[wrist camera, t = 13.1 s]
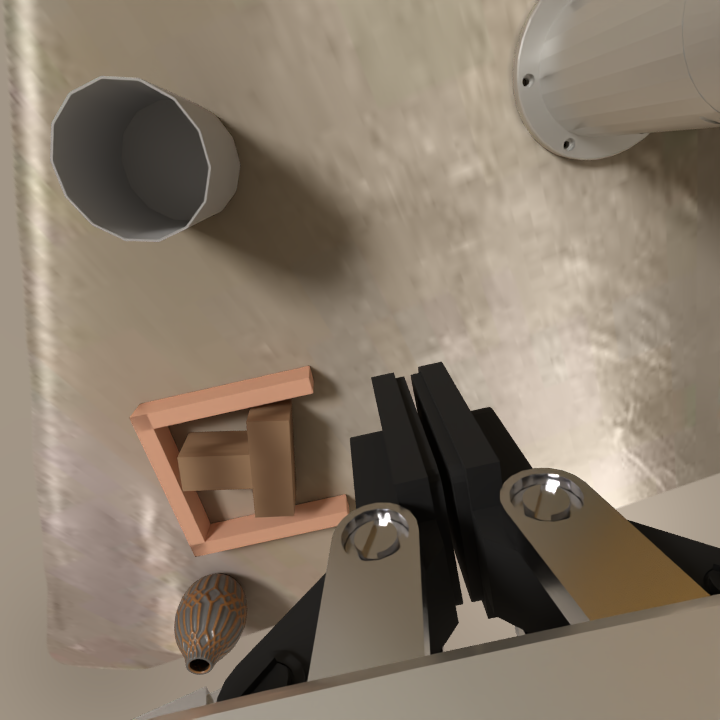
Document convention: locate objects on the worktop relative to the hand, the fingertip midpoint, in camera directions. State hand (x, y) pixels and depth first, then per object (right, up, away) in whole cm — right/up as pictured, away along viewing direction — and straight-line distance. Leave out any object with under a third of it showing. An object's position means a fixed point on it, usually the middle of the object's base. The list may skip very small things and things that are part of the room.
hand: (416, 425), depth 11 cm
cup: (-14, +16, +24) cm, 32 cm away
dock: (-11, -8, +34) cm, 37 cm away
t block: (-12, -7, +34) cm, 36 cm away
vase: (-17, -23, +40) cm, 49 cm away
